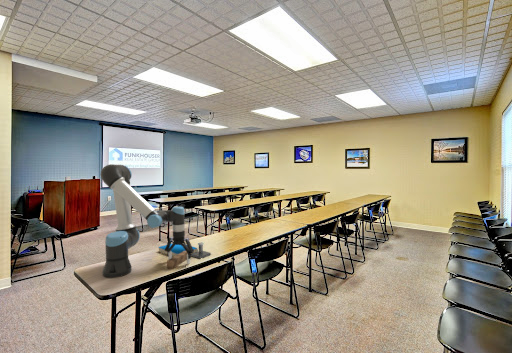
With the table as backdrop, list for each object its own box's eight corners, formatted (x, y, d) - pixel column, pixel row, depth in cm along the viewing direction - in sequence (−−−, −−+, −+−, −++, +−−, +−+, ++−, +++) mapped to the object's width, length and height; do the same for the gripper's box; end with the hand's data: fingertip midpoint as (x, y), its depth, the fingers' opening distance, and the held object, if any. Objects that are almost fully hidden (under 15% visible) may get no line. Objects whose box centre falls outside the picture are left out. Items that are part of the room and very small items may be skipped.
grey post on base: (200, 259, 172) (200, 245, 171) (190, 256, 177) (190, 243, 177) (210, 254, 180) (210, 242, 179) (201, 252, 185) (201, 240, 185)
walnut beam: (172, 269, 154) (172, 261, 154) (166, 268, 155) (166, 260, 155) (189, 258, 174) (189, 251, 173) (184, 257, 175) (184, 250, 174)
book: (178, 253, 172) (158, 246, 187) (178, 259, 172) (158, 252, 187) (198, 247, 186) (177, 241, 201) (198, 253, 186) (177, 246, 201)
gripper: (198, 230, 164) (199, 262, 165) (165, 228, 171) (166, 259, 171) (192, 233, 157) (193, 266, 157) (158, 230, 164) (159, 262, 164)
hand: (179, 262), depth 164 cm, fingers open, 13 cm apart
